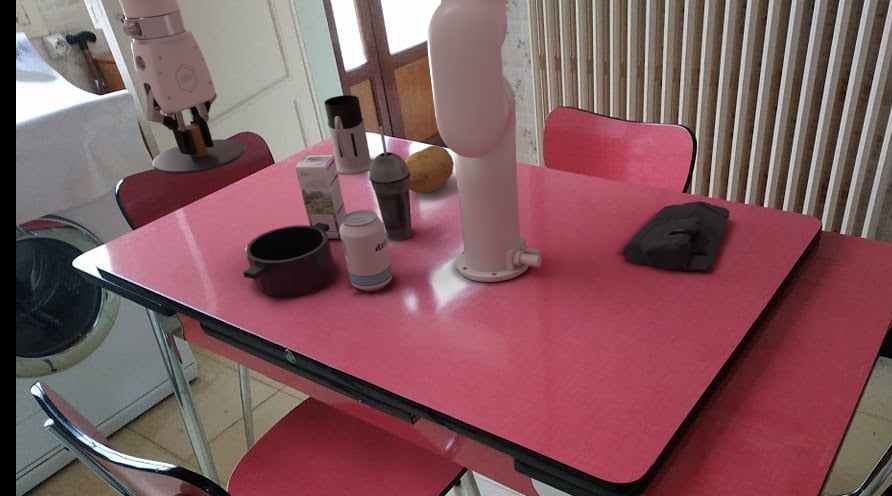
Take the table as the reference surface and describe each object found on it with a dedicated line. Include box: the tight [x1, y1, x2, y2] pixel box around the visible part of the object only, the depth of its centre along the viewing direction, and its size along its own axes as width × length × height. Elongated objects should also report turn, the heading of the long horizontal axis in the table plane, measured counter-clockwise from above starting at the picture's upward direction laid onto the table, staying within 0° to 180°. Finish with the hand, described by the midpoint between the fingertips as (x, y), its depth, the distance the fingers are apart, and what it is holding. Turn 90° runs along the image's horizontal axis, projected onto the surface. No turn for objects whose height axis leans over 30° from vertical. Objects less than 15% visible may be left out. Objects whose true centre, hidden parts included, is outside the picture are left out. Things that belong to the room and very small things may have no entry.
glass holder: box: [324, 94, 373, 175], centre depth 153 cm, size 9×14×15 cm, turn 1°
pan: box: [242, 223, 336, 299], centre depth 116 cm, size 13×19×7 cm
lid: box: [152, 123, 246, 175], centre depth 111 cm, size 14×14×6 cm
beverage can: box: [340, 209, 393, 292], centre depth 111 cm, size 7×7×12 cm
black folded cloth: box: [621, 200, 730, 272], centre depth 118 cm, size 15×22×5 cm
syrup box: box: [294, 154, 347, 240], centre depth 127 cm, size 6×6×14 cm
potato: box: [404, 145, 455, 195], centre depth 143 cm, size 10×14×8 cm
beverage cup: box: [369, 125, 412, 241], centre depth 123 cm, size 7×7×20 cm
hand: (197, 149), depth 112 cm, fingers closed on lid, 2 cm apart
